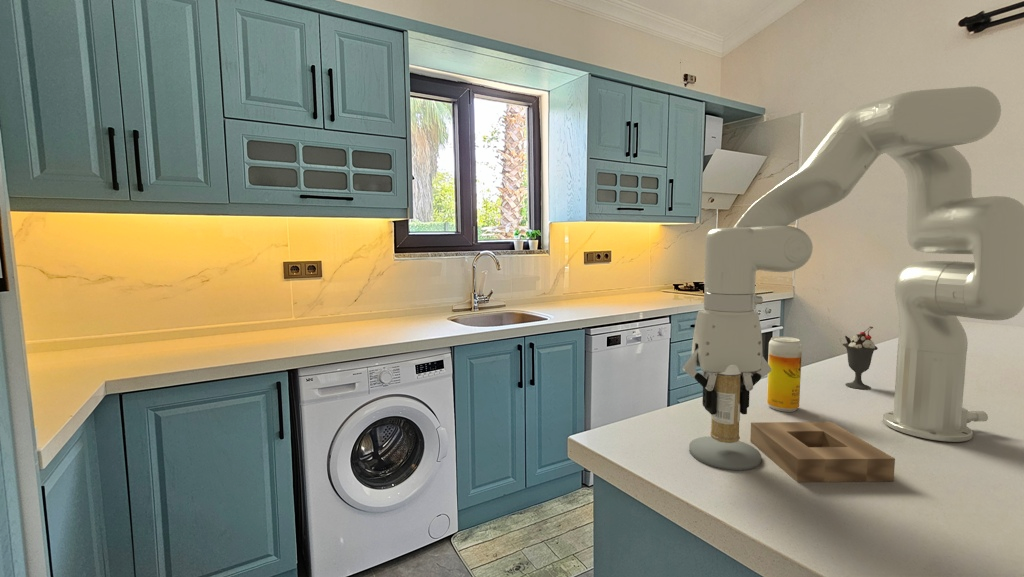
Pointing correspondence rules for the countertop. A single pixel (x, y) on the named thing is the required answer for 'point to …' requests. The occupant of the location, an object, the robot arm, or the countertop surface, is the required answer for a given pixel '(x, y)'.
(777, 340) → the beer can
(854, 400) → the countertop surface
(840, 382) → the countertop surface
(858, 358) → the sundae
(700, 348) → the robot arm
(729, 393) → the sprinkles bottle
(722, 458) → the slate coaster
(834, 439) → the walnut pocket block
